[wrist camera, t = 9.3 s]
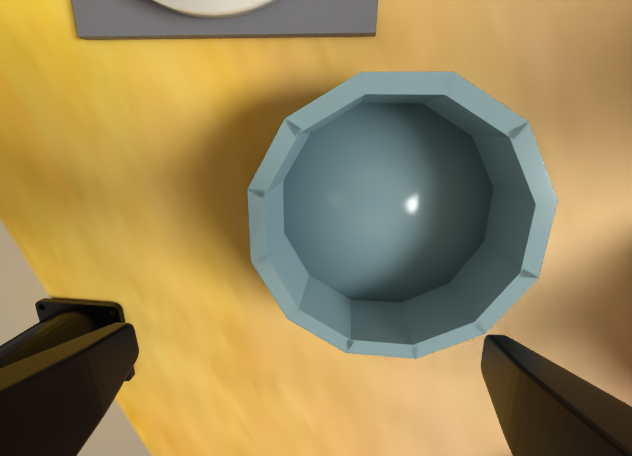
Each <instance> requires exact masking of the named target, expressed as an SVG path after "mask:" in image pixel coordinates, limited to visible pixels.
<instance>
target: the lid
mask: <svg viewBox="0 0 632 456" xmlns="http://www.w3.org/2000/svg"><path fill="white" fill-rule="evenodd" d="M152 1H154V2H156V3H158V4H159V5H161V6H163V7H165V8H167V9H170V10H172V11H175V12H178V13H180V14H183V15H187V16H192V17H197V18H202V19H229V18H238V17H242V16H246V15H250V14H253V13H256V12H259V11H261V10H263V9H266V8H268V7H270V6H272V5H274V4H276V3H277V2H279V1H281V0H152Z"/></svg>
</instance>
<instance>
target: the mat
mask: <svg viewBox="0 0 632 456" xmlns="http://www.w3.org/2000/svg"><path fill="white" fill-rule="evenodd" d="M72 5H73V11H74V16H75V22H76V27H77V33H78V37H81V38H84V39H86V40H105V39H186V38H267V37H347V36H375V34H376V23H377V8H378V0H281V1H279V2H277V3H276V4H274V5H272V6H270V7H268V8H266V9H263V10H261V11H259V12H256V13H253V14H250V15H246V16H242V17H238V18H229V19H202V18H197V17H192V16H187V15H183V14H180V13H178V12H175V11H172V10H170V9H167V8H165V7H163V6H161V5H159V4H158V3H156V2H154V1H152V0H72Z"/></svg>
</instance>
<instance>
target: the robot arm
mask: <svg viewBox="0 0 632 456" xmlns="http://www.w3.org/2000/svg"><path fill="white" fill-rule="evenodd" d="M35 305H36V310H37V314H38V317H39V320H40V322H39V323H37V324H35V325H34V326H33V327H31V328H29V329H27V330H26V331H24V332H22V333H21V334H19V335H18V336H16V337H14V338H13V339H11V340H9V341H8V342H6V343H4V344H3V345H1V346H0V456H77V454H78V453H79V452H80V450H81V449H82V447H83V446H84V444H85V443H86V441H87V440H88V438H89V437H90V436H91V434H92V433H93V431H94V430H95V428H96V427H97V426H98V424H99V423H100V421H101V420H102V418H103V417H104V415H105V413H106V412H107V410H108V408H109V407H110V405H111V403H112V402H113V400H114V398H115V396H116V395H117V393H118V391H119V390H120V388H121V386H122V384H123V383H124V381H129V380H131V379H132V378H133V376H134V375H135V372H134V366H133V365H134V364H135V362H136V360H137V358H138V354H139V347H138V343H137V338H136V334H135V329H134V327H133V325H132V324H130V323H125V318H124V313H123V309H122V307H121V306H120V305H118V304H115V303H102V302H88V301H74V300H61V299H47V298H44V299H42V300H40V301H38V302H37V303H36V304H35ZM114 311H115V312H114ZM481 371H482V375H483V378H484V380H485V383H486V386H487V389H488V392H489V394H490V397H491V400H492V403H493V406H494V409H495V411H496V414H497V417H498V420H499V423H500V425H501V428H502V431H503V433H504V436H505V439H506V441H507V443H508V446H509V448H510V450H511V452H512V455H513V456H632V407H631V406H629V405H628V404H626V403H624V402H622V401H621V400H619V399H617V398H615V397H613V396H612V395H610V394H608V393H606V392H605V391H603V390H601V389H599V388H598V387H596V386H594V385H592V384H591V383H589V382H587V381H585V380H583V379H582V378H580V377H578V376H576V375H575V374H573V373H571V372H569V371H568V370H566V369H564V368H562V367H560V366H559V365H557V364H555V363H553V362H552V361H550V360H548V359H546V358H545V357H543V356H541V355H539V354H537V353H536V352H534V351H532V350H530V349H529V348H527V347H525V346H523V345H522V344H520V343H518V342H516V341H515V340H513V339H511V338H509V337H507V336H505V335H487V336H486V337H485V340H484V346H483V353H482V360H481Z"/></svg>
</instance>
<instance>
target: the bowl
mask: <svg viewBox="0 0 632 456" xmlns="http://www.w3.org/2000/svg"><path fill="white" fill-rule="evenodd" d="M247 194H248V215H249V235H250V255H251V263H252V264H253V266H254V267H255V269H256V270H257V272H258V274H259V275H260V277H261V278H262V280H263V282H264V283H265V285H266V286H267V288H268V289H269V291H270V293H271V294H272V296H273V297H274V299H275V300H276V302H277V304H278V305H279V307H280V308H281V310H282V311H283V313H284V315H285V316H286V318H287V319H288V320H290V321H292V322H293V323H295V324H297V325H299V326H300V327H302V328H304V329H306V330H307V331H309V332H311V333H312V334H314V335H316V336H318V337H319V338H321V339H323V340H324V341H326V342H328V343H330V344H331V345H333V346H335V347H337V348H338V349H340V350H342V351H343V352H345V353H352V354H364V355H376V356H388V357H400V358H412V359H417V358H420V357H422V356H425V355H428V354H431V353H433V352H436V351H439V350H442V349H444V348H447V347H450V346H453V345H455V344H458V343H461V342H464V341H466V340H469V339H472V338H475V337H477V336H480V335H483V334H485V333H486V332H487V331H488V330H489V329H490V328H491V327H492V326H493V325H494V324H495V323H496V322H497V321H498V320H499V319H500V318H501V317H502V316H503V315H504V314H505V313H506V312H507V310H508V309H509V308H510V307H511V306H512V305H513V304H514V303H515V302H516V301H517V300H518V299H519V298H520V297H521V296H522V295H523V294H524V293H525V292H526V291H527V290H528V289H529V288H530V287H531V285H532V284H533V283H534V282H535V281H536V280H537V279H538V278H539V275H540V271H541V267H542V263H543V259H544V254H545V250H546V246H547V242H548V238H549V234H550V230H551V226H552V222H553V218H554V214H555V210H556V206H557V202H558V199H557V196H556V194H555V191H554V188H553V186H552V183H551V180H550V178H549V175H548V172H547V170H546V167H545V164H544V162H543V159H542V156H541V153H540V151H539V148H538V145H537V143H536V140H535V137H534V135H533V132H532V129H531V127H530V124H529V121H527V120H526V119H524V118H523V117H521V116H520V115H518V114H517V113H515V112H514V111H512V110H511V109H509V108H508V107H506V106H505V105H503V104H502V103H500V102H499V101H497V100H496V99H494V98H493V97H491V96H490V95H488V94H487V93H485V92H484V91H482V90H481V89H479V88H478V87H476V86H475V85H473V84H472V83H470V82H469V81H467V80H466V79H464V78H463V77H461V76H460V75H458V74H457V73H455V72H360V73H358V74H357V75H355V76H353V77H352V78H350V79H348V80H347V81H345V82H343V83H342V84H340V85H339V86H337V87H335V88H334V89H332V90H330V91H329V92H327V93H326V94H324V95H322V96H321V97H319V98H317V99H316V100H314V101H312V102H311V103H309V104H308V105H306V106H304V107H303V108H301V109H299V110H298V111H296V112H295V113H293V114H291V115H290V116H288V117H286V118H285V119H284V121H283V123H282V125H281V127H280V128H279V130H278V132H277V134H276V136H275V138H274V140H273V142H272V144H271V145H270V147H269V149H268V151H267V153H266V155H265V157H264V159H263V161H262V163H261V164H260V166H259V168H258V170H257V172H256V174H255V176H254V178H253V180H252V181H251V183H250V185H249V187H248V189H247Z"/></svg>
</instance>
